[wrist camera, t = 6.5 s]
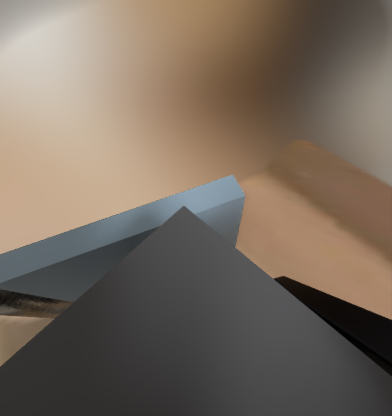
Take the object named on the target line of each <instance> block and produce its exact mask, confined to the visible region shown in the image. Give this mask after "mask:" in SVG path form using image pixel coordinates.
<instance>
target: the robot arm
mask: <svg viewBox="0 0 392 416" xmlns="http://www.w3.org/2000/svg"><path fill="white" fill-rule="evenodd" d="M274 280H275V281H276V282H277V283H279V284H280V285H281V286H282V287H284V288H285V289H286V290H287V291H288V292H290V293H291V294H292V295H293V296H294V297H296V298H297V299H298V300H299V301H301V302H302V303H303V304H304V305H305V306H307V307H308V308H309V309H310V310H311V311H313V312H314V313H315V314H316V315H318V316H319V317H320V318H321V319H322V320H324V321H325V322H326V323H327V324H328V325H330V326H331V327H332V328H333V329H335V330H336V331H337V332H338V333H339V334H341V335H342V336H343V337H344V338H345V339H347V340H348V341H349V342H350V343H352V344H353V345H354V346H355V347H356V348H358V349H359V350H360V351H361V352H363V353H364V354H365V355H366V356H367V357H369V358H370V359H371V360H372V361H373V362H375V363H376V364H377V365H378V366H380V367H381V368H382V369H383V370H384V371H386V372H387V373H388V374H389V375H390V376H392V320H391V319H388V318H386V317H383V316H381V315H378V314H376V313H373V312H371V311H368V310H366V309H364V308H361V307H359V306H356V305H354V304H351V303H349V302H346V301H344V300H342V299H339V298H337V297H334V296H332V295H329V294H327V293H324V292H322V291H319V290H317V289H315V288H312V287H310V286H307V285H305V284H302V283H300V282H297V281H295V280H292V279H290V278H288V277H285V276H281V277H277V278H274Z"/></svg>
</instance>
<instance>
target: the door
mask: <svg viewBox="0 0 392 416" xmlns="http://www.w3.org/2000/svg"><path fill="white" fill-rule="evenodd" d="M244 200H245V194H244V192H243V191H242V189H241V187H240V186H239V184H238V183H237V181H236V179H235V178H234V176H233V175H230V176H227V177H224V178H222V179H219V180H216V181H213V182H210V183H207V184H204V185H201V186H198V187H195V188H192V189H189V190H187V191H184V192H181V193H178V194H175V195H172V196H169V197H166V198H164V199H160V200H157V201H155V202H152V203H149V204H146V205H143V206H140V207H137V208H134V209H131V210H129V211H125V212H123V213H120V214H117V215H114V216H111V217H108V218H105V219H102V220H99V221H97V222H93V223H91V224H88V225H85V226H82V227H79V228H76V229H73V230H70V231H67V232H64V233H61V234H59V235H56V236H53V237H50V238H47V239H44V240H41V241H38V242H35V243H32V244H30V245H26V246H24V247H21V248H18V249H15V250H12V251H9V252H6V253H3V254H0V289H2V290H8V291H13V292H19V293H24V294H30V295H36V296H41V297H47V298H53V299H58V300H64V301H69V302H75V301H76V300H77V299H78V298H79V297H80V296H81V295H83V294H84V293H85V292H86V291H87V290H88V289H89V288H91V287H92V286H93V285H94V284H95V283H96V282H97V281H99V280H100V279H101V278H102V277H103V276H104V275H105V274H106V273H108V272H109V271H110V270H111V269H112V268H113V267H114V266H116V265H117V264H118V263H119V262H120V261H121V260H122V259H124V258H125V257H126V256H127V255H128V254H129V253H130V252H131V251H133V250H134V249H135V248H136V247H137V246H138V245H139V244H141V243H142V242H143V241H144V240H145V239H146V238H147V237H149V236H150V235H151V234H152V233H153V232H154V231H155V230H156V229H158V228H159V227H160V226H161V225H162V224H163V223H164V222H166V221H167V220H168V219H169V218H170V217H171V216H172V215H174V214H175V213H176V212H177V211H178V210H179V209H180V208H181V207H183V206H185V207H186V208H187V209H189V210H190V211H191V212H192V213H194V214H195V215H196V216H197V217H198V218H200V219H201V220H202V221H203V222H204V223H206V224H207V225H208V226H209V227H211V228H212V229H213V230H214V231H215V232H217V233H218V234H219V235H220V236H222V237H223V238H224V239H225V240H226V241H228V242H229V243H230V244H231V245H232V246H234V247H236V241H237V236H238V231H239V226H240V221H241V216H242V211H243V205H244Z"/></svg>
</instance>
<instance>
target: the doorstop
mask: <svg viewBox="0 0 392 416" xmlns="http://www.w3.org/2000/svg"><path fill="white" fill-rule="evenodd" d="M0 416H392V376H390V375H389V374H388V373H387V372H386V371H384V370H383V369H382V368H381V367H380V366H378V365H377V364H376V363H375V362H373V361H372V360H371V359H370V358H369V357H367V356H366V355H365V354H364V353H363V352H361V351H360V350H359V349H358V348H356V347H355V346H354V345H353V344H352V343H350V342H349V341H348V340H347V339H345V338H344V337H343V336H342V335H341V334H339V333H338V332H337V331H336V330H335V329H333V328H332V327H331V326H330V325H328V324H327V323H326V322H325V321H324V320H322V319H321V318H320V317H319V316H318V315H316V314H315V313H314V312H313V311H311V310H310V309H309V308H308V307H307V306H305V305H304V304H303V303H302V302H301V301H299V300H298V299H297V298H296V297H294V296H293V295H292V294H291V293H290V292H288V291H287V290H286V289H285V288H284V287H282V286H281V285H280V284H279V283H277V282H276V281H275V280H274V279H273V278H271V277H270V276H269V275H268V274H266V273H265V272H264V271H263V270H262V269H260V268H259V267H258V266H257V265H256V264H254V263H253V262H252V261H251V260H249V259H248V258H247V257H246V256H245V255H243V254H242V253H241V252H240V251H239V250H237V249H236V248H235V247H234V246H232V245H231V244H230V243H229V242H228V241H226V240H225V239H224V238H223V237H222V236H220V235H219V234H218V233H217V232H215V231H214V230H213V229H212V228H211V227H209V226H208V225H207V224H206V223H204V222H203V221H202V220H201V219H200V218H198V217H197V216H196V215H195V214H194V213H192V212H191V211H190V210H189V209H187V208H186V207H185V206H183V207H181V208H180V209H179V210H178V211H177V212H176V213H175V214H174V215H172V216H171V217H170V218H169V219H168V220H167V221H166V222H164V223H163V224H162V225H161V226H160V227H159V228H158V229H156V230H155V231H154V232H153V233H152V234H151V235H150V236H149V237H147V238H146V239H145V240H144V241H143V242H142V243H141V244H139V245H138V246H137V247H136V248H135V249H134V250H133V251H131V252H130V253H129V254H128V255H127V256H126V257H125V258H124V259H122V260H121V261H120V262H119V263H118V264H117V265H116V266H114V267H113V268H112V269H111V270H110V271H109V272H108V273H106V274H105V275H104V276H103V277H102V278H101V279H100V280H99V281H97V282H96V283H95V284H94V285H93V286H92V287H91V288H89V289H88V290H87V291H86V292H85V293H84V294H83V295H81V296H80V297H79V298H78V299H77V300H76V301H75V302H74V303H72V304H71V305H70V306H69V307H68V308H67V309H66V310H64V311H63V312H62V313H61V314H60V315H59V316H58V317H56V318H55V319H54V320H53V321H52V322H51V323H50V324H49V325H47V326H46V327H45V328H44V329H43V330H42V331H41V332H39V333H38V334H37V335H36V336H35V337H34V338H33V339H31V340H30V341H29V342H28V343H27V344H26V345H25V346H24V347H22V348H21V349H20V350H19V351H18V352H17V353H16V354H14V355H13V356H12V357H11V358H10V359H9V360H8V361H6V362H5V363H4V364H3V365H2V366H1V367H0Z"/></svg>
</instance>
